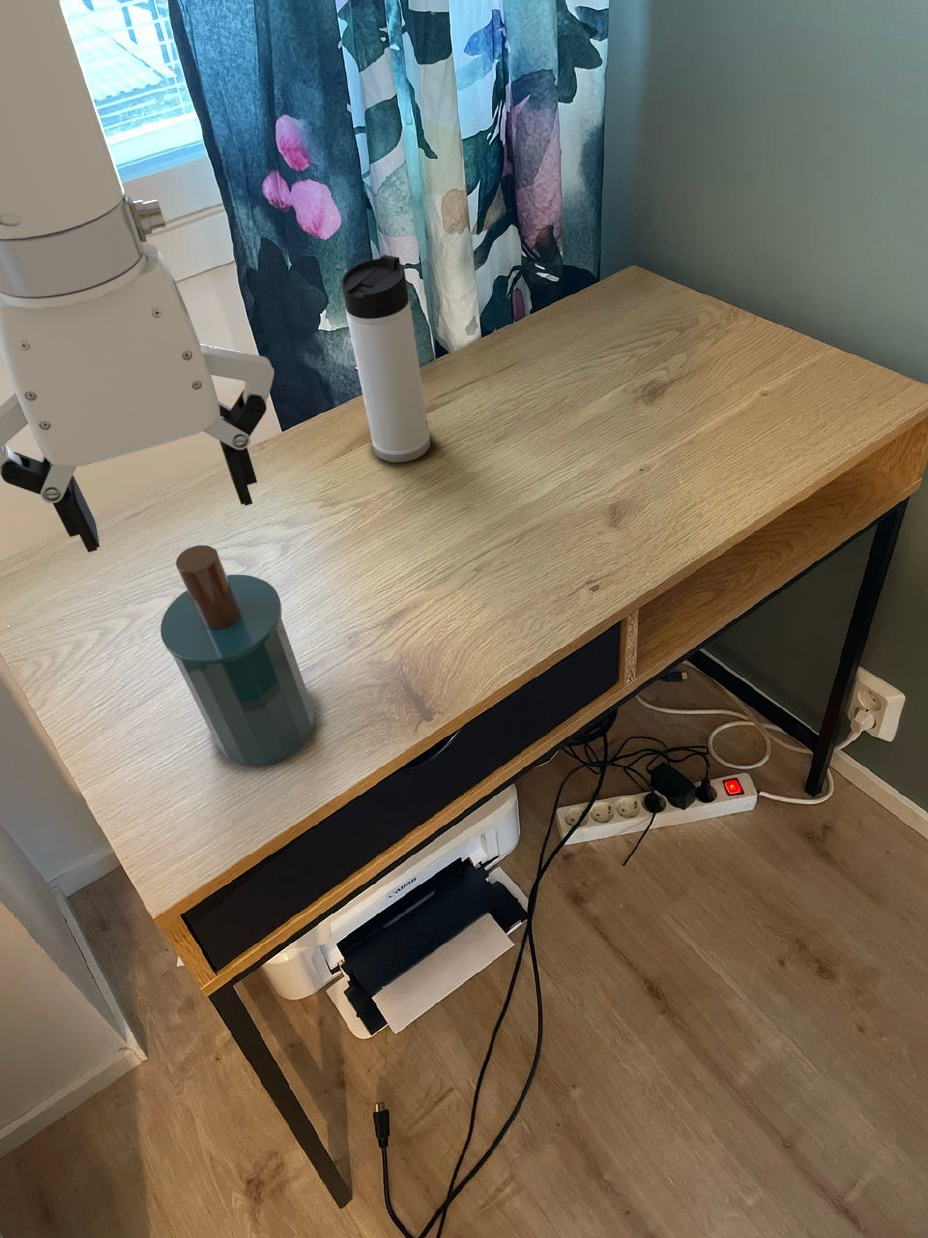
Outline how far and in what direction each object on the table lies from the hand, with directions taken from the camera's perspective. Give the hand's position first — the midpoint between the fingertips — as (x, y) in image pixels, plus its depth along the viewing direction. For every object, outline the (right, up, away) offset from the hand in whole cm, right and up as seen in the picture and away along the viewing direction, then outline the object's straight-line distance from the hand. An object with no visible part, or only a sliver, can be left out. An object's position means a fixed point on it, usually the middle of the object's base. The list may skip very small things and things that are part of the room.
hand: (169, 515), depth 57 cm
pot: (+3, -15, +16) cm, 22 cm away
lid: (+1, -7, +7) cm, 10 cm away
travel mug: (+12, +12, +42) cm, 45 cm away
